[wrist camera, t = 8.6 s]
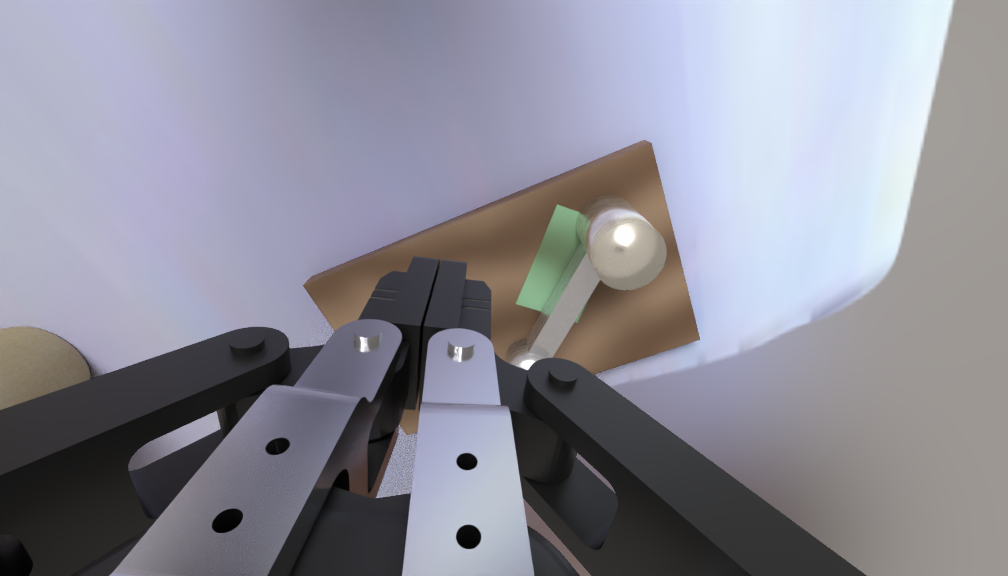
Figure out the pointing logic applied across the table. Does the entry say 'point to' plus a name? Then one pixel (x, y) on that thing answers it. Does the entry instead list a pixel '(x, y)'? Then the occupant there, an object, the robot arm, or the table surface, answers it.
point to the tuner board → (541, 267)
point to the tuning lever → (594, 271)
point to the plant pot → (36, 365)
